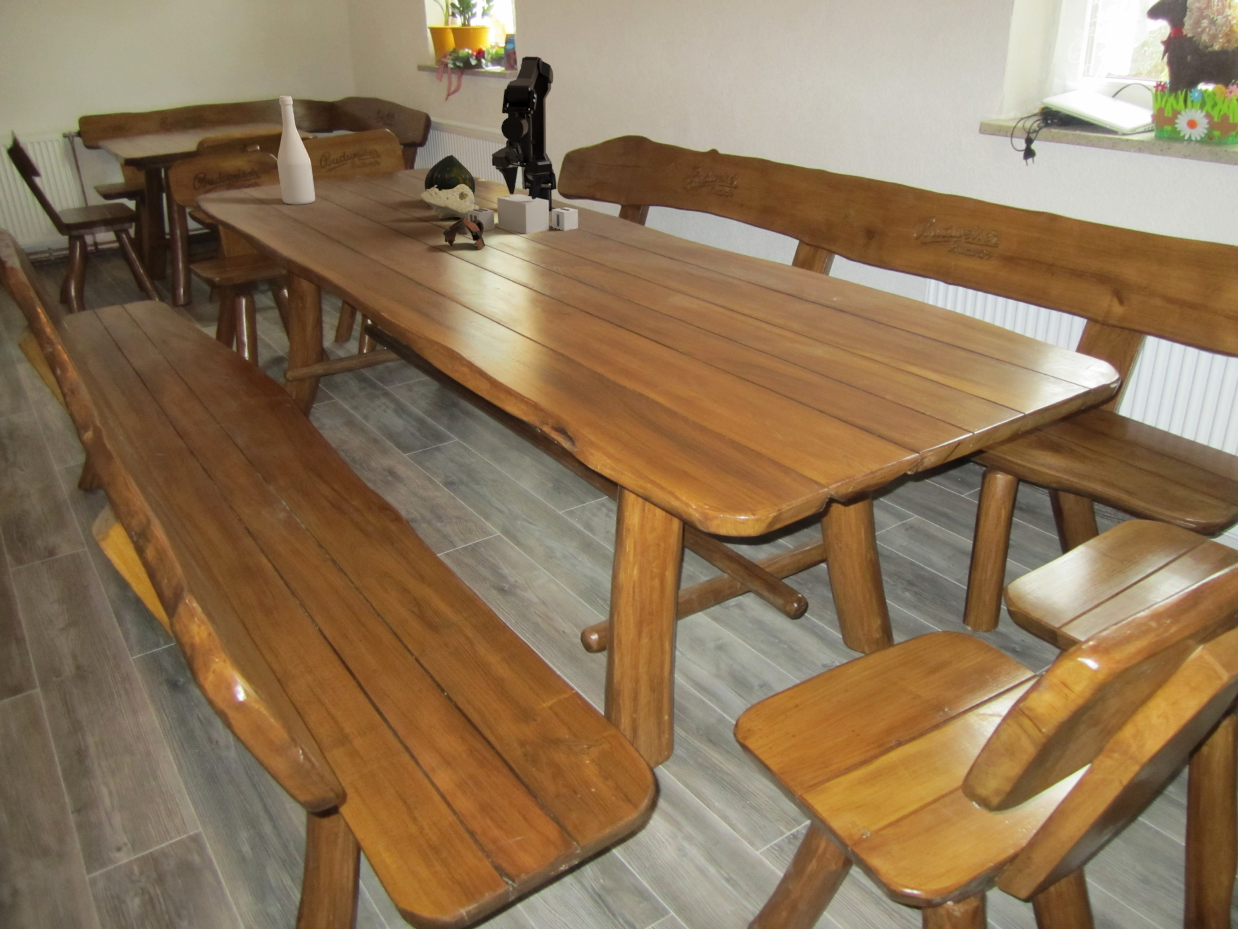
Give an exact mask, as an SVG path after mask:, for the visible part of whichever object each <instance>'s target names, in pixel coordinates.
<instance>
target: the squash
mask: <svg viewBox="0 0 1238 929" xmlns="http://www.w3.org/2000/svg"><path fill="white" fill-rule="evenodd" d="M460 184H464V185H466V186H468V187H469V188H470V190H471V191H472V192H473V195H474V196H475V191H476V183H475V179H474V177H473V175H472V173H471V172H470V171H469V170H468V168H467V167H465V166H464V165H463V163H461V162H460V161H459V159H458V158H456V157H455V156H454V155H453V154H450V155H446V156H445V157H443V158H442V159H441V160H439V161H438V162H436V163H435V164H434V165H433V166H432V167H431V168H430V169H429V171H428V172H427V174H426V176H425V179H424V189H425V190H424V191H426V189H431V188H432V187H434V186H436V185H437V186H436V187H435V188H437V189H438V190H439V191H441V190H449V189H453V188H455V187H456V186H457V185H460Z"/></svg>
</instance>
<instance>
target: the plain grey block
mask: <svg viewBox="0 0 1238 929" xmlns="http://www.w3.org/2000/svg"><path fill="white" fill-rule="evenodd" d="M496 198H497V200H496V202H497V226H498V228H502V229H505V230H509V231H513V232H517V233H521V234H525V235H529V233H530V234H536V233H539V232H540V231H541V232H544V231H545V230H546V231H549V230H550V215H549V214H550V211H549V200H544V199H540V198H536V199H532V197H531V196H528V195H526V194H522V193H517V194H510V195H505V196H499V197H496ZM546 231H545V232H546ZM541 232H540V233H541Z"/></svg>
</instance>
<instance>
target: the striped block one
mask: <svg viewBox="0 0 1238 929" xmlns="http://www.w3.org/2000/svg"><path fill="white" fill-rule="evenodd" d="M552 227H553V228H552ZM551 228H552V229H555V228H556V230H559V229H560V231H564V232H565V231H570V229H571V230H575V229H578V228H579V210H578V209H576V208H575V209H574V208H572V207H567V206H566V207H559V208H555V209H552V210H551Z"/></svg>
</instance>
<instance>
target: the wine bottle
mask: <svg viewBox="0 0 1238 929" xmlns="http://www.w3.org/2000/svg"><path fill="white" fill-rule="evenodd" d="M278 101H279V105H280V108H281V118H282V119H281V120H282V133H281V137H280V138H281V139H280V144H279V149H278V154H277V160H276V163H277V171H278V177H279V178H278V179H279V184H280V191H281V192H280V193H281V198H282V201H283V203H284V204H287V205H295V206H296V205H299V206H300V205H307V204H312V203H314V202H315V201H316V193H315V185H314V177H313V170H312V169H313V168H312V161H311V159H310V156H309V154H308V151H307V149H306V147H305V145H304V142H303V140H302V138H301V136H300V134H299V132H298V130H297V126H296V122H295V115H294V107H293V104H294V103H293V98H292V96H291V95H280V96H279V98H278Z"/></svg>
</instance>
